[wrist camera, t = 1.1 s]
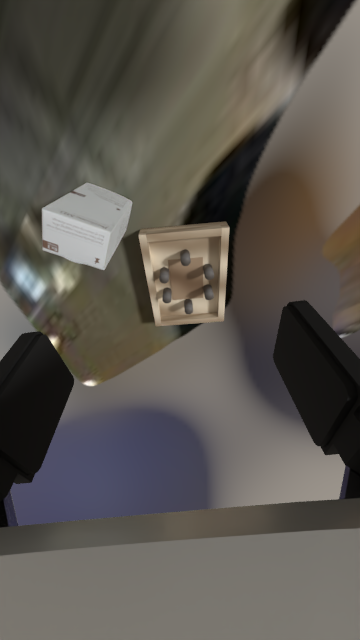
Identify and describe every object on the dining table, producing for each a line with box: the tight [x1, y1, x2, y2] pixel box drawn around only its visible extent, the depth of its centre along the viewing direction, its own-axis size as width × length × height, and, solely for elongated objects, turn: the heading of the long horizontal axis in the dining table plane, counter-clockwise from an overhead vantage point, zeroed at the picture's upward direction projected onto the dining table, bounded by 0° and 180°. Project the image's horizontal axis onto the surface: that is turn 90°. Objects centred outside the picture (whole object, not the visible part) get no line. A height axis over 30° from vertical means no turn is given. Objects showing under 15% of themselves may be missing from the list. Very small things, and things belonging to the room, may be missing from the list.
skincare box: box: [42, 183, 132, 270], centre depth 25 cm, size 6×4×12 cm
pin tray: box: [138, 222, 229, 326], centre depth 35 cm, size 16×12×4 cm
